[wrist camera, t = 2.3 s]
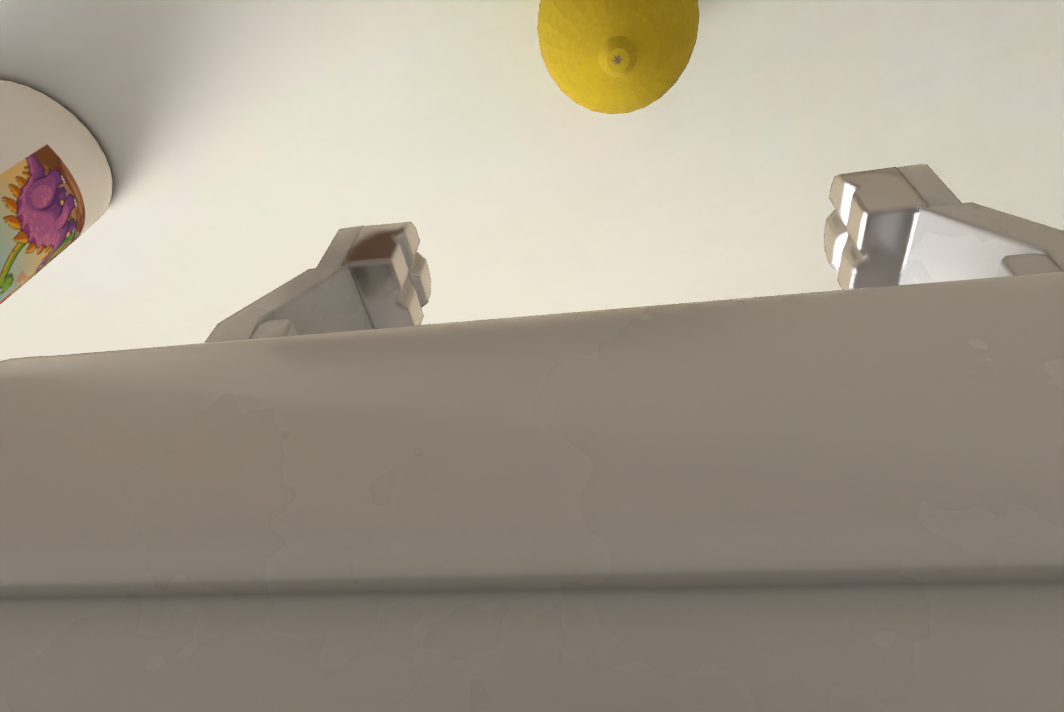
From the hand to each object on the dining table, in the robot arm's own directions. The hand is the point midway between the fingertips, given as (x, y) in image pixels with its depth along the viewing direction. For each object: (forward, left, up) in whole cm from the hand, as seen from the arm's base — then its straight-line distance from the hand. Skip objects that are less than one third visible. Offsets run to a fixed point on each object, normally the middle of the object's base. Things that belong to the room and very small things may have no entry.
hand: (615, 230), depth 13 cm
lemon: (0, 0, -18) cm, 18 cm away
